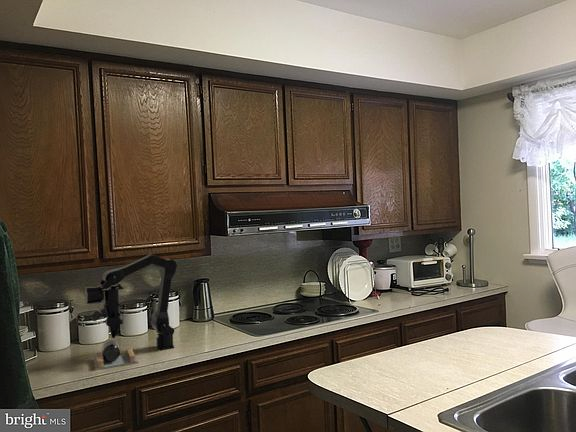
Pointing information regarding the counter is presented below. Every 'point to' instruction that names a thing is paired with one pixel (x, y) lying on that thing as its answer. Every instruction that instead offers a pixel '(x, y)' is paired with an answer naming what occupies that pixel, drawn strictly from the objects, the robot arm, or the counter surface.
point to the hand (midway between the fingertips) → (113, 337)
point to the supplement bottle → (110, 350)
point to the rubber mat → (115, 362)
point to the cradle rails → (128, 350)
